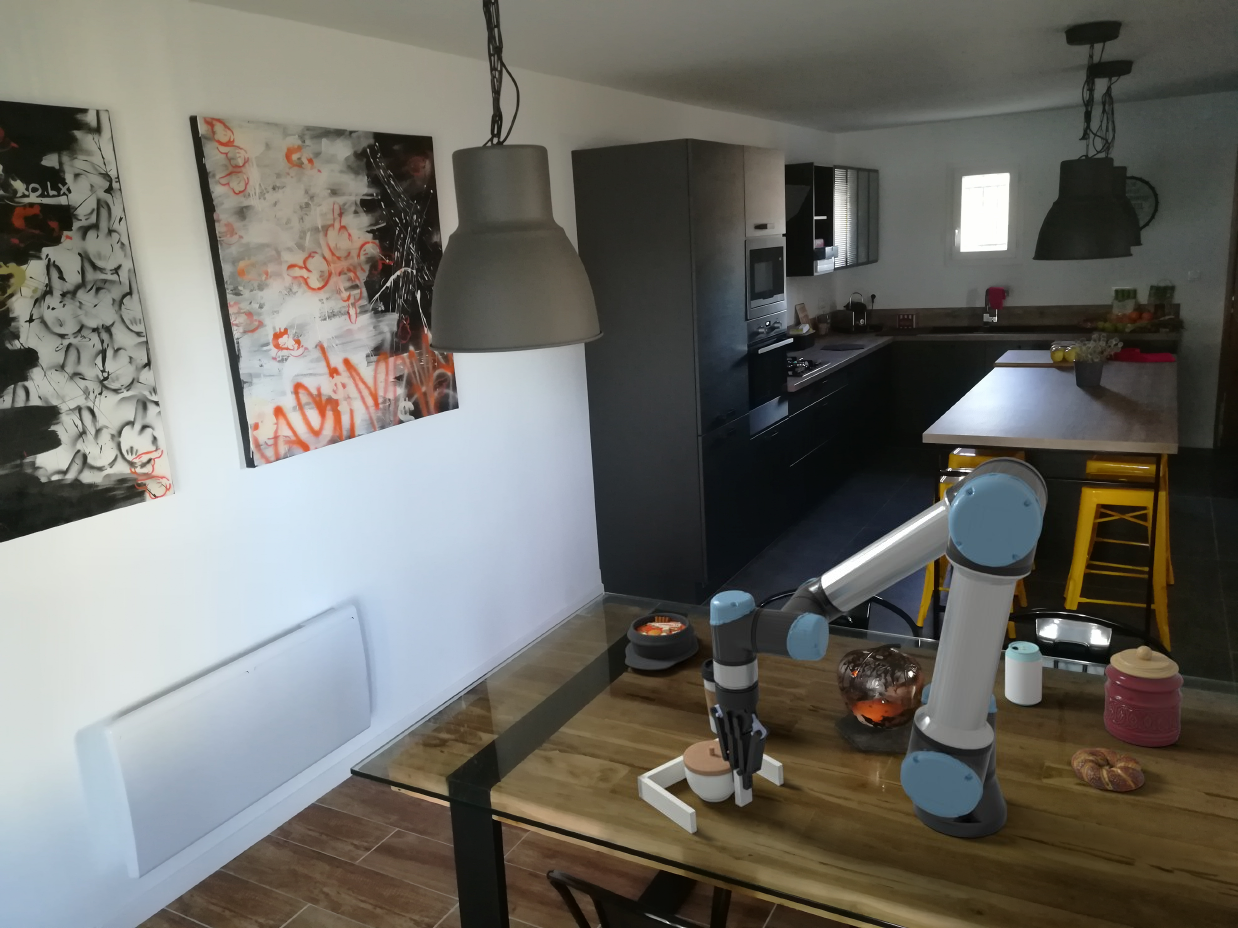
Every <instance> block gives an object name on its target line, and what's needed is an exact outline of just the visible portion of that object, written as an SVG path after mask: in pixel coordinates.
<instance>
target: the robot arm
mask: <svg viewBox="0 0 1238 928" xmlns="http://www.w3.org/2000/svg"><path fill="white" fill-rule="evenodd" d="M1047 504H1048V489H1047V485H1046V482H1045V479H1044V478H1043V476H1042V475H1041V474H1040V472H1039V471H1038V470H1037V469H1036V468H1035V467H1034V466H1033V465H1031V464H1030V463H1028V462H1026V461H1024V460H1022V459H1018V458H1015V457H1011V456H1010V457H1008V456H1001V457H994V458H991V459H987V460H986V461H983V462H981V463H980V464H979V465H977V466H976V467H975V468H974V469H972V471H971V470H970V472H969V473H968V474H966V475H965V476H964V477H963V478H961V479H960V480H959V481H957V482H956V483H954V484H953V485H951V486H949V487H948V488H946V489H945V490H944V492H943V498H942V499H941V500H940V501H938V502H936V503H935V504H933V505H932V506H930V507H928V508H927V509H925V510H923V511H922V512H920V513H919V514H917V515H915V516H914V517H911V519H908V520H907V521H906V522H904V523H903V524H900V526H898V527H896V528H894V529H893V530H891V531H890V532H888V533H887V534H885V535H883V536H882V537H880V538H879V539H877V540H875V541H873V542H872V543H870V544H869V545H867V546H866V547H864V548H863V549H861V550H859V551H858V552H857V553H855V554H853V555H851V556H850V557H848V558H846V559H845V560H843V561H842V562H840V563H839V564H837V565H836V566H834V567H832V568H831V569H828V571H826V572H825V573H823V574H822V575H820V576H818V577H812V578H810V579H807V581H805V582H803V583H802V584H801V585H800V586H799V587H798V588H797V590H796V591H795V592H794V594H793V595H792V596H791V597H790V598H789V600H788V601H787V602H786V604H785V605H784V606H783V607H782V608H781V609H780V610H779V609H770V608H769V609H768V608H762V607H757V606H756V603H755V599H754V596H752V594H750V593H749V592H745V591H742V590H727V591H722V592H719V593H717V594H716V595H714V596H713V598H711V600H710V606H709V607H710V610H709V611H710V614H709V615H710V620H709V624H710V629H711V630H710V631H711V641H712V642H711V643H712V658H713V666H714V679H715V694H716V701H717V703H718V705H716V706H713V707H711V708H710V712H711V715H712V717H713V719H714V722H715V727H716V731H717V734H716V735H717V738H718V740H719V744H720V749H721V753H722V758H723V760H724V761H725V762H726V761H728V762H729V764H730V767H731V768H732V779H733V783H734V786H735V791H734V798H735V805H737V806H739V807H740V808H742V807H744V806H745V805H747V804H749V803H751V802H752V801H753V791H752V788H753V787H754V779H753V777H754V776H753V775H754V774H757V773H756V772H758V771H760V770H761V767H762V760H763V754H765V753H764V751H765V748H766V747H765V745H766V739H767V737H768V735H769V734H770V732H771V731H770V730H771V729H770V727H769V726H767V725H765V726H763V725H762V724H761V721H759V714H758V711H757V706H758V703H759V701H760V685H759V684H760V683H759V680H758V679H759V674H758V672H759V670H758V654H760V655H768V656H773V657H778V658H779V657H780V658H787V659H792V660H795V661H814V662H815V661H816V662H818V661H820V660H822V659H823V658H824V656H825V655H826V652H827V648H828V646H829V645H828V644H829V637H830V632H829V631H830V630H829V629H830V628H829V623H830V622H832V621H834V620H835V619H837V618H839V617H840V616H842V615H843V614H845V613H848V611H851V610H852V609H854V608H855V607H857V606H859V605H860V604H862V603H864V602H865V601H868V600H869V599H870V598H872V597H874V596H876V595H877V594H879V593H882V592H883V591H884V590H886V589H888V588H890V587H892V586H893V585H895V584H896V583H898V582H900V581H901V580H903V579H905V578H906V577H908V576H910V575H912V574H914V573H915V572H917V571H918V570H920V569H921V568H924V567H926V566H927V565H929V564H930V563H933V562H934V561H936V560H938V559H939V558H941V557H942V556H944V555H945V557H946V559H947V561H948V562H949V563H950V564H951V565H952V567H953V570H952V576H951V580H950V585H949V591H948V597H947V602H946V606H945V611H944V617H943V623H942V628H941V633H940V638H939V644H938V648H937V652H936V659H935V664H934V668H933V675H932V679H931V683H929V684H927V685H926V686H924V687H923V690H922V694H921V695H922V696H921V698H920V702H921V705H922V706H920V707H918V708H917V709H916V711H915V714H914V717H913V722H912V728H911V732H910V737H909V743H908V748H907V752H906V755H905V757H904V759H903V760H902V762H901V764H900V783H901V786H902V789H903V790H904V792H905V794H906V795H907V796H908V797H909V798H910V799H911V801H912V808H913V811H914V813H915V816H917V818H918V819H919V820H920V821H921V822H922V823H923V824H924V825H925V826H927V827H929V828H931V829H932V830H933V831H934V830H935V831H937V832H939V833H942V834H945V835H949V836H953V837H958V838H972V839H973V838H981V837H988V836H989V835H990V836H991V835H994V834H996V832H999V831H1000V830H1001V829H1002V828H1003V827H1004V826H1005V825H1006V823H1007V819H1008V817H1007V816H1008V815H1007V814H1008V813H1007V812H1008V809H1007V807H1008V806H1007V802H1006V799H1005V797H1004V794H1003V791H1002V788H1001V786H1000V782H999V779H998V777H997V772H996V771H997V770H996V767H997V766H996V765H997V759H996V758H997V753H996V752H997V735H996V734H997V732H996V731H997V712H998V708H997V701H996V700H997V699H996V697H995V695H994V694H993V692H994V687H995V681H996V678H997V673H998V667H999V663H1000V658H1001V654H1002V650H1003V646H1004V640H1005V636H1006V631H1007V627H1008V626H1007V625H1008V622H1009V617H1010V613H1011V609H1012V604H1013V599H1014V594H1015V590H1016V585H1017V582H1018V581H1019V580H1021V579H1024V578H1025V577H1027V576H1029V575H1030V574H1031V572H1032V569H1033V568H1032V567H1033V563H1034V559H1035V555H1036V550H1037V545H1038V540H1039V538H1040V536H1041V533H1042V528H1043V522H1044V521H1043V520H1044V515H1045V511H1046V507H1047ZM727 751H729V752H728V753H727Z"/></svg>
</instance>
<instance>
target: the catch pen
mask: <svg viewBox="0 0 1238 928" xmlns="http://www.w3.org/2000/svg"><path fill="white" fill-rule="evenodd" d="M714 740H718V737H717V738H715V739H714ZM718 741H719V740H718ZM783 770H784V767H783V763H781V762H780V761H778V760H776V759H775V758H773V757H770V756H769V755H767V754H765V753H764V754H763V760H762V767H761V770H760V771H758V772H756V773H755V774H758V775H760V777H762V778H765V779H767V780H768V781H769V782H772V783H773V784H775V785H777V786H778V787H779V786H781V785H783V784H784V771H783ZM684 779H687V778H686V774H685V767H684V762H683V754H682V755H681V756H678V757H676V758H674V759H671V760H669V761H667V762H666V763H664V764H662V765H660V766H658V767H656V768H654V769H652V770H650V771H647V772H645V773H643V774H641V775H638V776H637V785H638V787H637V788H638V796H639V798H640V799H642V800H643V801H645V802H646V803H648V804H649V805H650V806H652V807H653V808H655V809H656V810H658V811H659V812H661V813H662V814H664V815H665V816H666V817H668V818H669V819H670V820H671V821H672V822H674V823H675V824H677V825H679V826H680V827H681V828H683V830H685V831H687V832H688V833H690V834H691V835H692V834H695V832H697V830H698V829H697V818H696V817H697V816H696V810H695V809H694V808H693V807H691V806H689V804H686V803H685V802H684V801H682V800H680V799H679V798H677V797H676V796H675V795H673V794H671V792H669V791H668V790H666V788H668V787H670V786H672V785H673V784H676V783H677V782H680V781H682V780H684Z"/></svg>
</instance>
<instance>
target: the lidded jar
mask: <svg viewBox="0 0 1238 928" xmlns="http://www.w3.org/2000/svg"><path fill="white" fill-rule="evenodd" d="M728 752H729V751H727V753H728ZM682 755H683V762H684V767H685V774H686V778H685V779H686V780H687V783H688V786H689V787H690V789H691V790H692V791H693V793H695V794H696V795H697V796H699V798H700V799H702V800H703V801H705V802H709V803H719V802H723V801H726V800H728V799H729V798H730V796H732V794H733V793H735V786H734V783H733V779H732V768H731V767H730V764H729V762H728V761H726V762H725V761H724V760H723V758H722V753H721V749H720V744H719V741H718V740H715V739H713V740H712V739H711V740H703V741H698V742H696V743H693V744H692V745H690V746H688V747H687V748H686V749H685V751H684V753H683V754H682Z"/></svg>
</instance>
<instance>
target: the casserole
mask: <svg viewBox="0 0 1238 928" xmlns="http://www.w3.org/2000/svg"><path fill="white" fill-rule="evenodd" d="M626 637H627V638H628V640H629V641H630V642H629V643H628V644H627V646H626V647H625V651H624V652H625V656H626V657H625V660H624V663H625V665H626V666H628V667H630V668H633V669H638V670H643V671H644V670H645V671H661V670H667V669H669V668H671V667H673V666H675V665H676V664H677V663H679V662H683V661H685V660H686V659H690V658H691V657H693V656H694V655H695V654H696V653H697V652H698V650H699V648H700V645H699V643H698V639H697V637H698V634H697V633H696V632H695V628H694V626H693V625H692V624H691V622H690V620H689V619H688V618H687V617H685V616H684V615H681V614H678V613H671V612H669V613H668V612H662V613H661V612H660V613H659V612H658V613H651V614H646V615H643V616H641V617H639V618H636V619H635V620H633V621H632V622H631V624H630V627H629V630H628V631H627V634H626Z"/></svg>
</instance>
